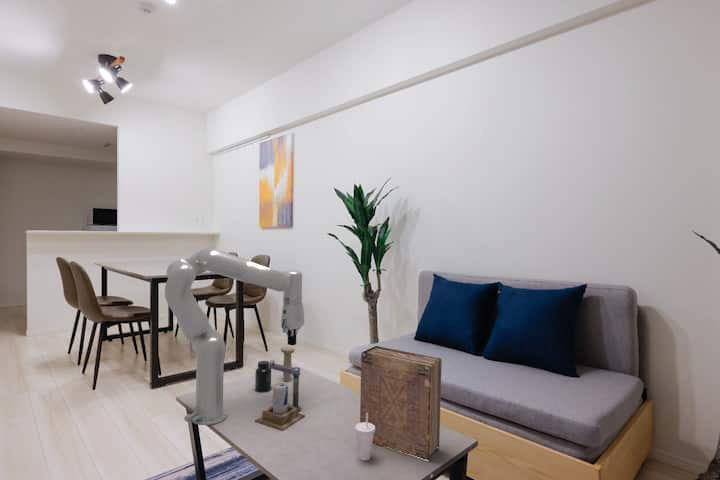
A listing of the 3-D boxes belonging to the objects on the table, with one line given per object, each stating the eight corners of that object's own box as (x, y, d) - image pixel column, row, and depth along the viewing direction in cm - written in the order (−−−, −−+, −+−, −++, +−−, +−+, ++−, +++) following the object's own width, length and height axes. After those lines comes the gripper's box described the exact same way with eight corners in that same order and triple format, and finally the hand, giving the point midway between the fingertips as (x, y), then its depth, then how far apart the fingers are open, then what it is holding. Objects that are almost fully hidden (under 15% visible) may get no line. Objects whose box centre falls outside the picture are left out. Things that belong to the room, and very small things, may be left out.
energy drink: (289, 415, 154) (290, 384, 154) (282, 421, 149) (283, 389, 149) (277, 413, 156) (278, 382, 155) (269, 419, 151) (270, 387, 150)
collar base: (282, 431, 144) (283, 392, 143) (254, 421, 150) (255, 384, 150) (312, 412, 159) (313, 377, 159) (286, 404, 165) (286, 370, 165)
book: (439, 449, 134) (442, 358, 133) (428, 462, 126) (431, 366, 125) (373, 428, 147) (374, 345, 146) (359, 438, 139) (361, 351, 139)
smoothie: (368, 465, 124) (369, 419, 123) (350, 458, 127) (351, 414, 127) (378, 455, 129) (379, 411, 129) (361, 449, 133) (362, 406, 132)
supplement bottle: (269, 385, 185) (269, 359, 184) (272, 391, 178) (272, 364, 178) (254, 387, 182) (254, 360, 182) (256, 393, 176) (256, 365, 175)
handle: (289, 383, 188) (289, 351, 187) (278, 380, 191) (279, 348, 191) (295, 380, 192) (296, 348, 192) (285, 377, 195) (285, 346, 195)
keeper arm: (301, 374, 160) (301, 366, 160) (296, 376, 158) (297, 368, 158) (272, 367, 168) (272, 359, 168) (267, 369, 165) (267, 361, 165)
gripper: (288, 304, 161) (287, 350, 161) (310, 299, 174) (309, 341, 174) (273, 302, 165) (272, 347, 165) (296, 297, 178) (295, 339, 178)
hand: (291, 344), depth 170 cm, fingers closed
